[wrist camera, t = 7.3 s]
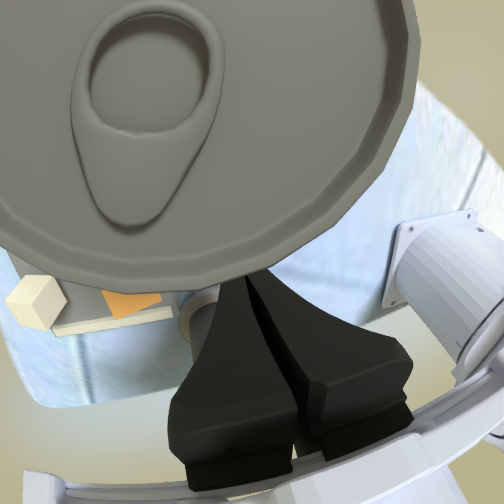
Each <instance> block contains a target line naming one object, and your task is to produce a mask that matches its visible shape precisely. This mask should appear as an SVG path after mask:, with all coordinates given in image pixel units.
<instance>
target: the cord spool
mask: <svg viewBox="0 0 504 504" xmlns="http://www.w3.org/2000/svg"><path fill="white" fill-rule="evenodd" d="M219 290H220V285H216V286H212V287H209V288H206V289H203V290H200V291H197V292H195V293H193V294H192V295H191V296H189V297H188V298H187V299H186V300H185V301H184V303H183V304H182V306H181V308H180V317H179V325H180V331H181V334H182V336H183V337H184V338H185V339H186V340H187V341H188V342H189V343H190V344H191V348H192V356H193V363H194V362H195V361H196V359H197V357H198V355H199V353H200V351H201V349H202V346H203V344H204V342H205V339H206V337H207V334H208V332H209V329H210V326H211V323H212V320H213V317H214V313H215V309H216V305H217V301H218V296H219Z"/></svg>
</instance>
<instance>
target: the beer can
mask: <svg viewBox="0 0 504 504" xmlns="http://www.w3.org/2000/svg"><path fill="white" fill-rule="evenodd" d="M420 46H421V38H420V32H419V27H418V21H417V16H416V12H415V7H414V3H413V0H0V246H1V247H2V248H4V249H5V250H7V251H9V252H10V253H12V254H14V255H15V256H17V257H19V258H20V259H22V260H24V261H25V262H27V263H29V264H31V265H32V266H34V267H36V268H38V269H39V270H41V271H43V272H45V273H46V274H48V275H50V276H52V277H54V278H56V279H58V280H62V281H66V282H70V283H74V284H79V285H83V286H87V287H92V288H96V289H101V290H106V291H110V292H115V293H120V294H125V295H135V294H153V293H170V292H185V291H200V290H203V289H206V288H209V287H212V286H216V285H219V284H222V283H225V282H228V281H231V280H234V279H237V278H240V277H243V276H246V275H249V274H252V273H255V272H258V271H261V270H263V269H266V268H269V267H272V266H274V265H275V264H277V263H278V262H280V261H281V260H283V259H284V258H286V257H288V256H289V255H291V254H292V253H294V252H295V251H297V250H298V249H300V248H301V247H303V246H304V245H306V244H308V243H309V242H311V241H312V240H314V239H315V238H317V237H318V236H320V235H321V234H323V233H324V232H326V231H327V230H329V229H330V228H332V227H333V226H335V225H336V224H337V222H338V221H339V220H340V219H341V218H342V217H343V216H344V215H345V214H346V213H347V211H348V210H349V209H350V208H351V207H352V206H353V205H354V204H355V202H356V201H357V200H358V199H359V198H360V197H361V196H362V195H363V193H364V192H365V191H366V190H367V189H368V188H369V187H370V186H371V184H372V183H373V182H374V181H375V180H376V179H377V178H378V176H379V175H380V174H381V173H382V172H383V170H384V168H385V166H386V164H387V162H388V160H389V158H390V156H391V154H392V152H393V150H394V148H395V145H396V143H397V141H398V139H399V137H400V135H401V133H402V131H403V128H404V126H405V124H406V122H407V120H408V117H409V115H410V113H411V111H412V108H413V103H414V96H415V90H416V82H417V75H418V66H419V57H420Z"/></svg>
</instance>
